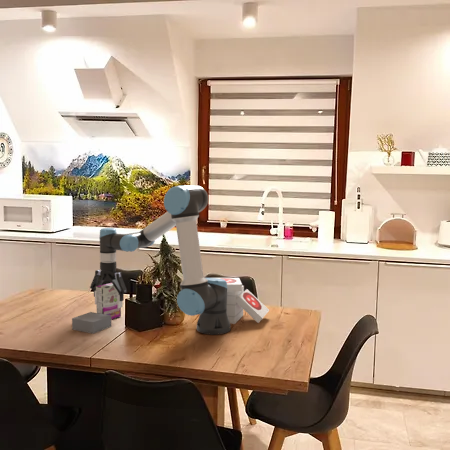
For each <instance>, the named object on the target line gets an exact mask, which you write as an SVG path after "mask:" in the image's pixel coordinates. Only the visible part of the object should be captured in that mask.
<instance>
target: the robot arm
mask: <svg viewBox="0 0 450 450" xmlns="http://www.w3.org/2000/svg"><path fill="white" fill-rule="evenodd" d="M208 195H209V194H208V192H207V191H206V190H205V189H204V188H203V187H202V186H200V185H196V184H192V185H182V184H181V185H176V186H172V187H171V188H169V189H168V191H167V192H166V193H165V195H164V198H163V206H164V209H165V210H166V212H165V213H163V214H162V215H161V216H159V217H158V218H156V219H155V220H153V221H152V222H150V224H148V225H147V226H146V227H144V228H142V229H141V230H140V231H137V232H132V233H117V230H116V228H112V227H105V228H101V229H100V230H99V261H100V262H99V269H97V270H95V272H94V276H93V279H92V281H91V284H90V286H89V289H90V290H91V289H92V290H93V297H94V305H96V286H100V285H103V283H104V282H110V283H113V285H114V287H115V288H116V290H117V291H118V293H119V294H118V308H121V309H122V308H124V307H123V304H124V302H123V301H125V300H124V299H125V298H124V295H125V294H127V293H128V289H127V287H126V284H125V282H124V278H123V275H122V272H117V271H116V270H117V251H122V252H123V251H124V252H134V251H136V250H137V249H143V248H148V247H151V246H153V245H154V244H155V241H156V240H157V239H159V238H160V237H162V236H163V235H165V234H167V233H168V232H169V231H171V230H172V229H173V228H175V227H176V234H177V242H178V250H179V258H180V264H181V271H182V278H183V280H182V281H181V282H180V291H179V292H178V294H177V296H176V302H177V306H178V308H179V309H180V311H181V312H183V314H185V315H187V316H191V317H192V316H193V317H194V316H197V315H199V316H198V319H197V322H196V331H197V332H199V333H201V334H204V335H205V334H206V335H223V334H227V333H229V332H230V331H231V323H230V322H229V318H228V315H227V289H228V288H227V282H226V281H225V280H223V279H218V278H219V277H205V276H204V270H203V263H202V255H201V246H200V241H199V240H200V239H199V232H198V225H197V223H198V222H197V219H198V218H199V217H200V213H201V212H202V211H203V210H205V208H206V207H207V206H208V203H209V196H208ZM100 276H101V277H100Z"/></svg>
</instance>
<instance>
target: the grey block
mask: <svg viewBox="0 0 450 450" xmlns="http://www.w3.org/2000/svg"><path fill="white" fill-rule="evenodd" d="M111 327H112V320H111V315H105V314H100V313H97V312H94V311H89V312H86V313H84V314H80V315H78V316H75V317H72V318H71V330H74V331H79V332H82V333H89V334H96V333H98V332H101V331H103V330H105V329H106V330H107V329H109V328H111Z"/></svg>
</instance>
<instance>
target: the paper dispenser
mask: <svg viewBox="0 0 450 450" xmlns="http://www.w3.org/2000/svg"><path fill="white" fill-rule="evenodd" d="M217 278H218V279H223V280H225V281H226V282H227V288H228V289H227V315H228V318H229V322H230V324H231V325H232V324H233V325H235V324H236V323H238V321H240V319H241V318H242V317H243V316H244V311H245V312H246V313H247V314H248V315H249V316H250V317H251V318H252V319H253V320H254V321H255V323H258V324H259V323H260V322H261V321H262V320H263V319H264V318H265V316H266V315H267V314H268V313H269V311H270V309H269V308H268V307H267V306H266V305H265V304H264V303H263V302H261V300H259V298H257V297H256V296H255V295H254V294H253V293H252V292H251V291H250V290H249V289H247V288H246V289H245V285H243V283H242V281H241V279H240V277H217Z"/></svg>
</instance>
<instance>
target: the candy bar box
mask: <svg viewBox="0 0 450 450" xmlns="http://www.w3.org/2000/svg"><path fill="white" fill-rule="evenodd" d="M118 294H119V293H118V291H117V290H116V288H115V287H114V285H113V283H111V282H110V283H106V284H102V285H100V286H96V304H95V305H96V306H95V307H96V313H100V314H105V315H111V321H112V320H115V319H118V318H121V317H122V307H121V308H118Z"/></svg>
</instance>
